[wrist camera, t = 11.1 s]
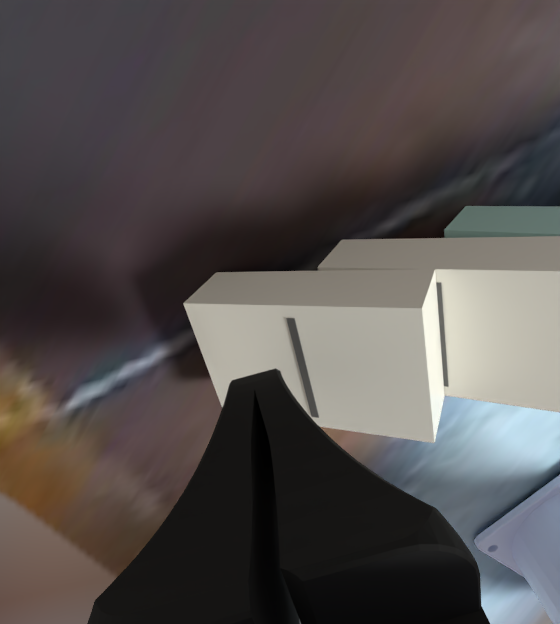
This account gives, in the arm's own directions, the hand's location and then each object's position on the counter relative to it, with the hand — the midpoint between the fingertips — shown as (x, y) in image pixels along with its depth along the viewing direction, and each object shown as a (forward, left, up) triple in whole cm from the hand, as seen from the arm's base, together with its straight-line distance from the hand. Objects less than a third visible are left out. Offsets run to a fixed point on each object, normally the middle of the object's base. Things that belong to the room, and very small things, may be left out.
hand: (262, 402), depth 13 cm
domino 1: (+1, +1, -4) cm, 4 cm away
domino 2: (-2, -3, -4) cm, 5 cm away
